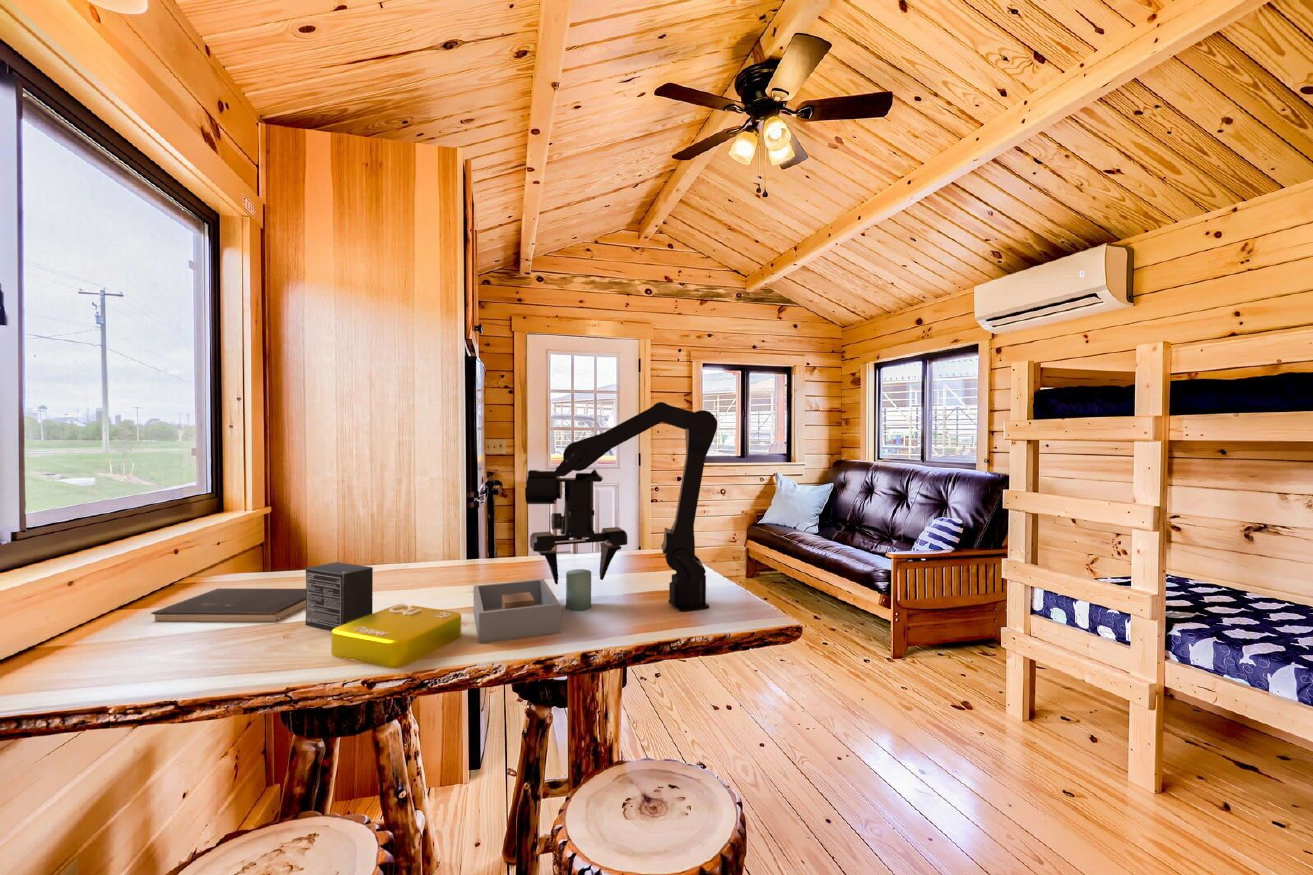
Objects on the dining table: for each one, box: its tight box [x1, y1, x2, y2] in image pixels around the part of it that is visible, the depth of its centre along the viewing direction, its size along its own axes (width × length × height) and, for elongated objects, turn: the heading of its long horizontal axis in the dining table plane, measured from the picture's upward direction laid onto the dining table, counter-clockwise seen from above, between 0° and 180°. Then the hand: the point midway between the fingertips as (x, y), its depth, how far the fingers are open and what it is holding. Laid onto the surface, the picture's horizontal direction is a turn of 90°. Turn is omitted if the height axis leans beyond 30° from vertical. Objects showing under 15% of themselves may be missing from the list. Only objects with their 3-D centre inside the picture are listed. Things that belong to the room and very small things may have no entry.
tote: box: [473, 578, 561, 644], centre depth 103 cm, size 14×18×5 cm
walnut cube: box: [502, 592, 534, 609], centre depth 100 cm, size 5×5×5 cm
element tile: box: [330, 603, 462, 669], centre depth 92 cm, size 15×15×5 cm
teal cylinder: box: [565, 568, 592, 612], centre depth 112 cm, size 5×5×7 cm
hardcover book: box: [150, 587, 306, 623], centre depth 111 cm, size 16×23×2 cm
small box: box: [305, 561, 374, 632], centre depth 102 cm, size 11×6×10 cm, turn 65°
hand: (579, 581), depth 112 cm, fingers open, 9 cm apart
